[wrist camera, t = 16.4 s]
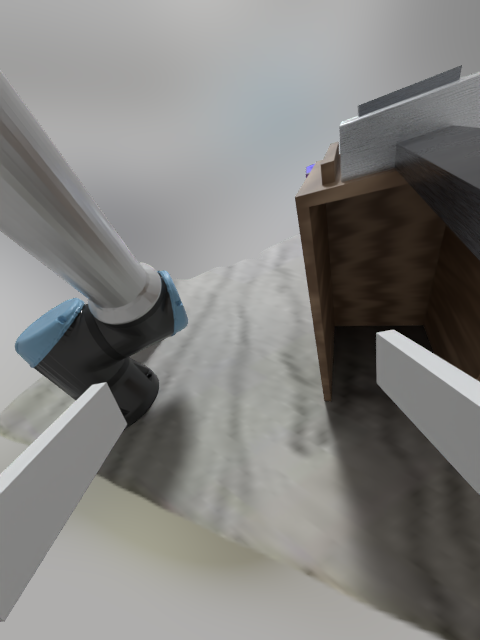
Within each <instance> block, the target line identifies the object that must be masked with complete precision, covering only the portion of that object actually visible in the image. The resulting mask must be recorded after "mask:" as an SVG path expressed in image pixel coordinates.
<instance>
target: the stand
mask: <svg viewBox="0 0 480 640" xmlns="http://www.w3.org/2000/svg"><path fill="white" fill-rule="evenodd" d="M295 201H296V208H297V215H298V221H299V228H300V235H301V242H302V249H303V256H304V263H305V270H306V277H307V284H308V291H309V297H310V304H311V311H312V318H313V325H314V332H315V339H316V346H317V353H318V359H319V366H320V373H321V380H322V387H323V394H324V401H331V396H332V375H333V354H334V333H335V326H408V325H423V326H424V329H425V331H426V334H427V337H428V339H429V342H430V345H431V347H432V350H433V353H434V354H435V355H437V356H438V357H440V358H441V359H443V360H445V361H446V362H448V363H450V364H451V365H453V366H455V367H456V368H458V369H460V370H461V371H463V372H464V373H466V374H468V375H469V376H471V377H473V378H474V379H476V380H478V381H479V382H480V261H479V259H478V258H477V257H476V256H475V255H474V254H473V253H472V252H471V251H470V250H469V249H468V248H467V246H466V245H465V244H464V243H463V242H462V241H461V240H460V239H459V238H458V237H457V236H456V234H455V233H454V232H453V231H452V230H451V229H450V228H449V227H448V226H447V225H446V224H445V223H444V221H443V220H442V219H441V218H440V217H439V216H438V215H437V214H436V213H435V212H434V211H433V210H432V208H431V207H430V206H429V205H428V204H427V203H426V202H425V201H424V200H423V199H422V198H421V197H420V195H419V194H418V193H417V192H416V191H415V190H414V189H413V188H412V187H411V186H410V185H409V183H408V182H407V181H406V180H405V179H404V178H403V177H402V176H401V175H400V174H399V173H398V172H397V170H396V169H395V168H393V169H389V170H386V171H382V172H378V173H374V174H371V175H367V176H363V177H359V178H356V179H352V180H348V181H344V182H341V154H339V144H338V142H335V143H332V144H330V146H329V148H328V150H327V152H326V154H325V157H324V159H323V160H320V161H318V162H316V163H315V165H314V166H313V168H312V170H311V171H310V173H309V175H308V176H307V178H306V180H305V182H304V183H303V185H302V186H301V188H300V190H299V191H298V193H297V195H296V196H295Z"/></svg>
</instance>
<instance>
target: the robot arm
mask: <svg viewBox="0 0 480 640" xmlns="http://www.w3.org/2000/svg"><path fill="white" fill-rule="evenodd" d="M0 231H1V232H3V233H4V234H5V235H7V236H8V237H9V238H10V239H12V240H13V241H14V242H16V243H17V244H18V245H19V246H21V247H22V248H23V249H25V250H26V251H27V252H29V253H30V254H31V255H33V256H34V257H35V258H36V259H38V260H39V261H40V262H41V263H43V264H44V265H45V266H47V267H48V268H49V269H51V270H52V271H53V272H55V273H56V274H57V275H58V276H60V277H61V278H62V279H63V280H65V281H66V282H67V283H69V284H70V285H71V286H73V287H74V288H75V289H77V290H78V291H79V292H80V293H82V294H83V295H84V296H86V297H87V298H88V304H86V305H85V304H84V302H83V301H82V300H80V299H78V298H73V299H70V300H67V301H65V302H63V303H61V304H60V305H58V306H56V307H55V308H53V309H51V310H50V311H48V312H47V313H46V314H44V315H43V316H41V317H40V318H39V319H37V320H36V321H35V322H34V323H32V324H31V325H30V326H29V327H28V328H27V329H26V330H25V331H24V332H23V333H22V334H21V335H20V336H19V337H18V339H17V341H16V343H15V350H16V352H17V353H18V354H19V355H20V356H21V357H22V358H23V359H24V360H25V361H26V362H28V363H29V364H30V367H32V368H35V369H36V370H37V371H39V372H40V373H41V374H42V375H44V376H45V377H46V378H48V379H49V380H50V381H52V382H53V383H54V384H55V385H57V386H58V387H59V388H61V389H62V390H63V391H64V392H66V393H67V394H68V395H70V396H71V397H72V398H73V399H75V400H76V401H75V402H74V403H73V404H72V405H71V406H70V407H69V408H68V409H67V410H66V411H65V412H64V413H63V414H62V415H61V416H60V417H59V418H58V419H57V420H56V421H55V422H54V423H52V424H51V425H50V426H49V427H48V428H47V429H46V430H45V431H44V432H43V433H42V434H41V435H40V436H39V437H38V438H37V439H36V440H35V441H34V442H33V443H32V444H31V445H30V446H29V447H28V448H27V449H26V450H25V451H24V452H23V453H22V454H21V455H20V456H19V457H18V458H16V459H15V460H14V461H13V462H12V463H11V464H10V465H9V466H8V467H7V468H6V469H5V470H4V471H3V472H2V473H1V474H0V622H1V621H5V620H6V618H7V616H8V615H9V613H10V612H11V610H12V608H13V607H14V605H15V604H16V602H17V600H18V599H19V597H20V596H21V594H22V592H23V591H24V589H25V587H26V586H27V584H28V583H29V581H30V579H31V578H32V576H33V574H34V573H35V572H36V570H37V568H38V567H39V565H40V563H41V562H42V560H43V559H44V557H45V555H46V554H47V552H48V551H49V549H50V547H51V546H52V544H53V543H54V541H55V539H56V538H57V536H58V535H59V533H60V531H61V530H62V528H63V526H64V525H65V523H66V521H67V520H68V518H69V517H70V515H71V514H72V512H73V510H74V509H75V507H76V506H77V504H78V502H79V501H80V499H81V498H82V496H83V494H84V493H85V491H86V490H87V488H88V486H89V485H90V483H91V481H92V480H93V478H94V477H95V475H96V474H97V472H98V470H99V469H100V467H101V466H102V464H103V462H104V461H105V459H106V458H107V456H108V454H109V453H110V451H111V450H112V448H113V446H114V445H115V443H116V441H117V440H118V438H119V437H120V435H121V433H122V432H123V430H124V429H125V428H126V427H128V426H129V425H131V424H132V423H134V422H135V421H136V420H137V419H139V418H140V417H141V416H142V415H143V414H144V413H145V412H146V411H147V409H148V408H149V407H150V405H151V404H152V402H153V401H154V399H155V397H156V395H157V392H158V388H159V380H158V378H157V376H156V375H155V374H154V372H153V371H152V370H151V369H150V368H148V367H146V366H145V365H143V364H141V363H139V362H137V361H135V360H133V359H131V358H130V357H129V356H131V355H133V354H135V353H137V352H139V351H141V350H143V349H145V348H147V347H149V346H151V345H153V344H155V343H157V342H159V341H161V340H163V339H165V338H167V337H170V336H173V335H175V334H176V333H177V332H179V331H181V330H182V329H184V328H185V327H186V326H187V324H188V318H187V315H186V312H185V309H184V306H183V304H182V302H181V299H180V297H179V294H178V292H177V289H176V287H175V285H174V283H173V281H172V279H171V277H170V275H169V273H168V272H167V271H164V270H163V271H156V270H155V269H154V268H153V267H152V266H150V265H148V264H145V263H142V262H138V261H137V259H136V258H135V257H134V255H133V254H132V252H131V251H130V250H129V248H128V247H127V246H126V244H125V243H124V241H123V240H122V238H121V237H120V236H119V234H118V233H117V232H116V230H115V229H114V227H113V226H112V225H111V223H110V222H109V220H108V219H107V218H106V216H105V215H104V213H103V212H102V211H101V209H100V208H99V206H98V205H97V204H96V202H95V201H94V199H93V198H92V197H91V195H90V194H89V192H88V191H87V190H86V188H85V187H84V186H83V184H82V183H81V182H80V180H79V178H78V177H77V176H76V174H75V173H74V171H73V170H72V169H71V167H70V166H69V165H68V163H67V162H66V160H65V159H64V158H63V156H62V155H61V153H60V152H59V151H58V149H57V148H56V146H55V145H54V144H53V142H52V141H51V139H50V138H49V137H48V135H47V134H46V132H45V131H44V130H43V128H42V127H41V125H40V124H39V123H38V121H37V120H36V118H35V117H34V116H33V114H32V113H31V111H30V110H29V109H28V107H27V106H26V104H25V103H24V102H23V100H22V99H21V98H20V96H19V95H18V93H17V92H16V90H15V89H14V88H13V86H12V85H11V83H10V82H9V81H8V79H7V78H6V76H5V75H4V74H3V72H2V71H1V70H0ZM376 374H377V384H378V385H379V386H380V387H381V388H382V390H383V391H384V392H385V393H386V394H387V395H388V396H389V397H390V398H391V399H392V400H393V402H394V403H395V404H396V405H397V406H398V407H399V408H400V409H401V410H402V411H403V412H404V414H405V415H406V416H407V417H408V418H409V419H410V420H411V421H412V422H413V423H414V424H415V426H416V427H417V428H418V429H419V430H420V431H421V432H422V433H423V434H424V435H425V436H426V438H427V439H428V440H429V441H430V442H431V443H432V444H433V445H434V446H435V447H436V448H437V450H438V451H439V452H440V453H441V454H442V455H443V456H444V457H445V458H446V459H447V460H448V462H449V463H450V464H451V465H452V466H453V467H454V468H455V469H456V470H457V471H458V472H459V474H460V475H461V476H462V477H463V478H464V479H465V480H466V481H467V482H468V483H469V484H470V485H471V487H472V488H473V489H474V490H475V491H476V492H477V493H478V494H479V495H480V382H479V381H478V380H476V379H474V378H473V377H471V376H469V375H468V374H466V373H464V372H463V371H461V370H460V369H458V368H456V367H455V366H453V365H451V364H450V363H448V362H446V361H445V360H443V359H441V358H440V357H438V356H437V355H435V354H433V353H432V352H430V351H428V350H427V349H425V348H423V347H422V346H420V345H418V344H417V343H415V342H414V341H412V340H410V339H409V338H407V337H405V336H404V335H402V334H400V333H399V332H397V331H395V330H388V331H383V332H377V333H376Z"/></svg>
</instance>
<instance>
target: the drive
mask: <svg viewBox="0 0 480 640" xmlns="http://www.w3.org/2000/svg"><path fill="white" fill-rule="evenodd" d="M461 68H462V66H459V67H456V68H453V69H451V70H448V71H446V72H443V73H441V74H438V75H436V76H433V77H431V78H428V79H425V80H423V81H420V82H418V83H415V84H413V85H410V86H408V87H405V88H402V89H400V90H397V91H395V92H392V93H390V94H387V95H385V96H382V97H379V98H377V99H374V100H372V101H369V102H367V103H364V104H362V105H359V106H358V116H356V117H354V118H351V119H348V120H346V121H343V122H341V125H340V154H341V182H344V181H348V180H352V179H356V178H359V177H363V176H367V175H371V174H374V173H378V172H382V171H386V170H389V169H393V168H395V169H396V170H397V172H398V173H399V174H400V175H401V176H402V177H403V178H404V179H405V180H406V181H407V182H408V183H409V185H410V186H411V187H412V188H413V189H414V190H415V191H416V192H417V193H418V194H419V195H420V197H421V198H422V199H423V200H424V201H425V202H426V203H427V204H428V205H429V206H430V207H431V208H432V210H433V211H434V212H435V213H436V214H437V215H438V216H439V217H440V218H441V219H442V220H443V221H444V223H445V224H446V225H447V226H448V227H449V228H450V229H451V230H452V231H453V232H454V233H455V234H456V236H457V237H458V238H459V239H460V240H461V241H462V242H463V243H464V244H465V245H466V246H467V248H468V249H469V250H470V251H471V252H472V253H473V254H474V255H475V256H476V257H477V258H478V259H479V261H480V72H477V73H474V74H471V75H468V76H464V77H461V78H460V73H461Z"/></svg>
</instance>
